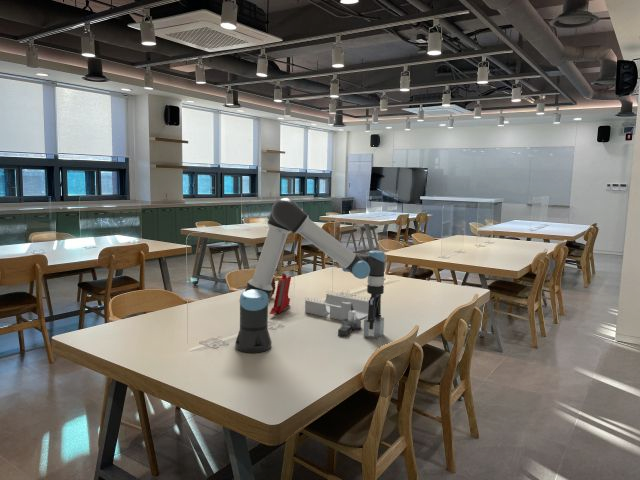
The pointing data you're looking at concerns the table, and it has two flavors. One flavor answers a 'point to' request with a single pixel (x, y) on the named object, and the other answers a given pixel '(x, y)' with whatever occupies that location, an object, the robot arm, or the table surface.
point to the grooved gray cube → (378, 327)
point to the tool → (282, 295)
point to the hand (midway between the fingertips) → (373, 333)
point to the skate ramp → (338, 307)
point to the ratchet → (349, 324)
